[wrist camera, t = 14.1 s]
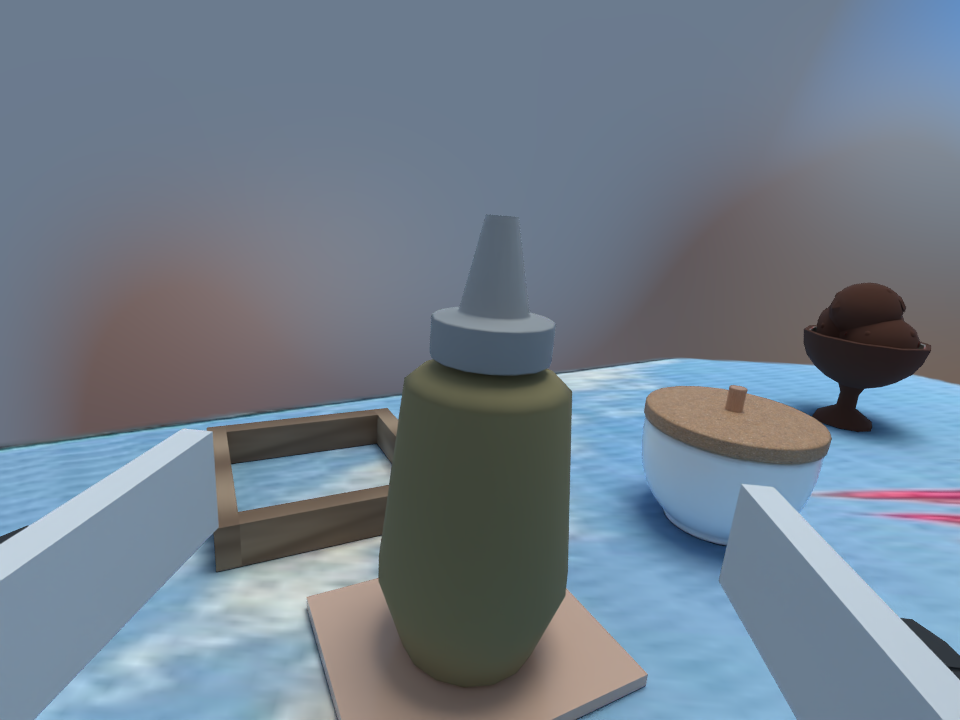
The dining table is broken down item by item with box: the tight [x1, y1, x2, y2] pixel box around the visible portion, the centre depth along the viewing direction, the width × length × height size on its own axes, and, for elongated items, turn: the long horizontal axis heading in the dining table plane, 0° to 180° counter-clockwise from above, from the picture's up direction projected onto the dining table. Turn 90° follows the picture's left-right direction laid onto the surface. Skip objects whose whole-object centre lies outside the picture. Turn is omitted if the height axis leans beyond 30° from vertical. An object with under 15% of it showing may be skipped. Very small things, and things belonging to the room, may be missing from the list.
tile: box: [307, 578, 648, 720], centre depth 23 cm, size 10×12×1 cm
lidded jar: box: [642, 385, 832, 545], centre depth 34 cm, size 11×11×9 cm
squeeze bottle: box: [378, 215, 572, 687], centre depth 21 cm, size 8×8×18 cm
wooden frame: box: [207, 408, 398, 572], centre depth 35 cm, size 13×13×2 cm
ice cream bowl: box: [804, 283, 931, 432], centre depth 55 cm, size 11×11×15 cm
